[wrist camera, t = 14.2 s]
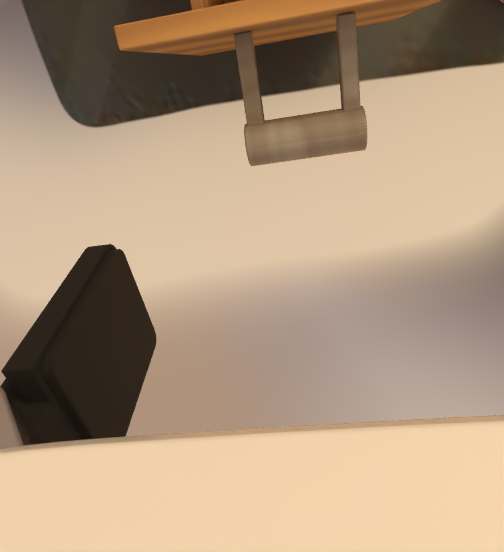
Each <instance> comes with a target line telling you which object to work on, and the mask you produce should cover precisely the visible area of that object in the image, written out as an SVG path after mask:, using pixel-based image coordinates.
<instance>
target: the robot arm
mask: <svg viewBox="0 0 504 552" xmlns="http://www.w3.org/2000/svg"><path fill="white" fill-rule="evenodd" d="M155 346H156V333H155V330H154V327H153V325H152V322H151V320H150V317H149V315H148V312H147V310H146V308H145V305H144V302H143V300H142V297H141V295H140V292H139V290H138V287H137V284H136V282H135V280H134V277H133V274H132V272H131V269H130V267H129V264H128V262H127V259H126V257H125V254H124V252H123V251H122V250H120V249H116V248H115V247H114V246H113V245H111V244H109V245H101V246H92V247H88V248H87V249H85V251H84V252H83V254H82V255H81V257H80V258H79V259H78V261H77V262H76V264H75V265H74V267H73V268H72V270H71V271H70V272H69V274H68V275H67V277H66V278H65V280H64V281H63V283H62V284H61V286H60V287H59V288H58V290H57V291H56V293H55V294H54V296H53V297H52V298H51V300H50V301H49V303H48V304H47V306H46V307H45V309H44V310H43V312H42V313H41V314H40V316H39V317H38V319H37V320H36V322H35V323H34V324H33V326H32V327H31V329H30V330H29V332H28V333H27V335H26V336H25V338H24V339H23V340H22V342H21V343H20V345H19V346H18V348H17V349H16V351H15V352H14V353H13V355H12V356H11V358H10V359H9V361H8V362H7V364H6V365H5V366H4V368H3V369H2V373H3V374H4V376H5V377H6V379H5V381H4V382H3V384H2V385H1V386H0V552H504V415H494V416H474V417H455V418H434V419H417V420H399V421H381V422H363V423H362V422H361V423H344V424H326V425H308V426H290V427H274V428H273V427H272V428H255V429H240V430H223V431H207V432H191V433H175V434H157V435H141V436H127V437H125V436H126V433H127V430H128V427H129V424H130V421H131V418H132V415H133V412H134V409H135V406H136V403H137V400H138V397H139V394H140V391H141V388H142V385H143V382H144V379H145V376H146V372H147V370H148V367H149V364H150V361H151V358H152V355H153V352H154V349H155Z"/></svg>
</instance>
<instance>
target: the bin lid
mask: <svg viewBox="0 0 504 552" xmlns="http://www.w3.org/2000/svg"><path fill="white" fill-rule="evenodd" d="M438 1H441V0H242V1H237V2H232V3H227V4H222V5H217V6H212V7H207V8H202V9H197V10H192V11H187V12H182V13H177V14H172V15H167V16H161V17H156V18H151V19H146V20H141V21H136V22H131V23H126V24H121V25H116V26H114V30H115V34H116V38H117V42H118V46H119V49H120V50H121V51H134V52H150V53H166V54H182V55H198V56H202V55H207V54H213V53H218V52H224V51H229V50H235V49H236V55H237V61H238V68H239V74H240V81H241V87H242V94H243V100H244V106H245V113H246V119H247V124H245V127H244V134H245V145H246V151H247V156H248V160H249V163H250V165H251V166H256V165H263V164H269V163H277V162H283V161H291V160H297V159H305V158H312V157H319V156H325V155H332V154H340V153H347V152H354V151H361V150H365V149H366V146H367V125H366V124H367V123H366V116H365V110H364V108H363V106H360V92H359V71H358V51H357V31H356V27H361V26H366V25H372V24H377V23H383V22H388V21H393V20H395V19H397V18H400V17H402V16H405V15H407V14H409V13H412V12H414V11H417V10H419V9H421V8H424V7H426V6H429V5H431V4H434V3H436V2H438ZM333 31H336V32H337V46H338V61H339V76H340V90H341V105H342V109H337V110H330V111H324V112H317V113H311V114H305V115H298V116H292V117H285V118H279V119H273V120H266V121H264V114H263V106H262V100H261V92H260V85H259V78H258V70H257V63H256V56H255V49H254V46H257V45H262V44H268V43H273V42H278V41H284V40H289V39H295V38H300V37H306V36H311V35H317V34H322V33H328V32H333Z"/></svg>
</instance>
